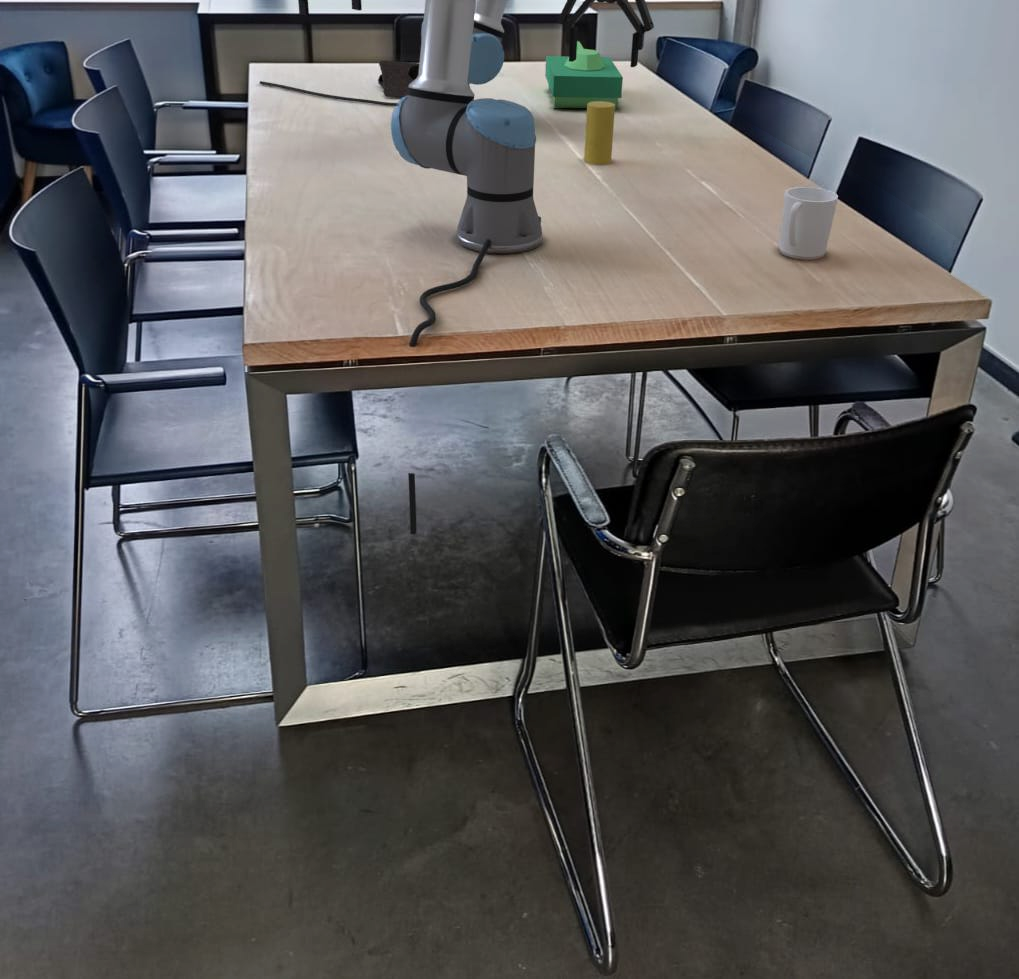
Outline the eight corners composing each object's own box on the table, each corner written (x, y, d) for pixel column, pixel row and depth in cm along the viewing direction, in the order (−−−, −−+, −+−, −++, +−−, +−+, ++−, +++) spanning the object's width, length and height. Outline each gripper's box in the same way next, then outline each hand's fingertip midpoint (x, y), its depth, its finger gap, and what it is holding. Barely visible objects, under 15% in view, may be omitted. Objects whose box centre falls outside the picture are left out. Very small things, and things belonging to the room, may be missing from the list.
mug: (790, 240, 199) (799, 183, 193) (836, 251, 194) (846, 193, 188) (761, 255, 191) (769, 197, 186) (808, 267, 186) (818, 208, 181)
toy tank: (607, 38, 308) (624, 61, 278) (604, 83, 314) (620, 111, 284) (544, 36, 307) (554, 60, 277) (542, 82, 313) (552, 110, 283)
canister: (615, 160, 244) (619, 103, 237) (602, 166, 239) (606, 108, 233) (592, 156, 246) (595, 100, 240) (579, 161, 242) (582, 104, 236)
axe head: (443, 87, 294) (392, 77, 287) (436, 115, 299) (385, 106, 292) (421, 62, 307) (371, 52, 300) (414, 89, 311) (365, 80, 304)
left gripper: (281, -96, 218) (290, 19, 229) (383, -99, 232) (387, 9, 244) (262, -98, 223) (271, 14, 234) (363, -101, 237) (368, 5, 248)
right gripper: (674, -46, 220) (664, 65, 231) (557, -53, 228) (553, 55, 239) (665, -43, 214) (655, 71, 225) (545, -50, 222) (541, 61, 233)
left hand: (330, 12), depth 239 cm, fingers open, 13 cm apart
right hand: (602, 63), depth 232 cm, fingers open, 13 cm apart
